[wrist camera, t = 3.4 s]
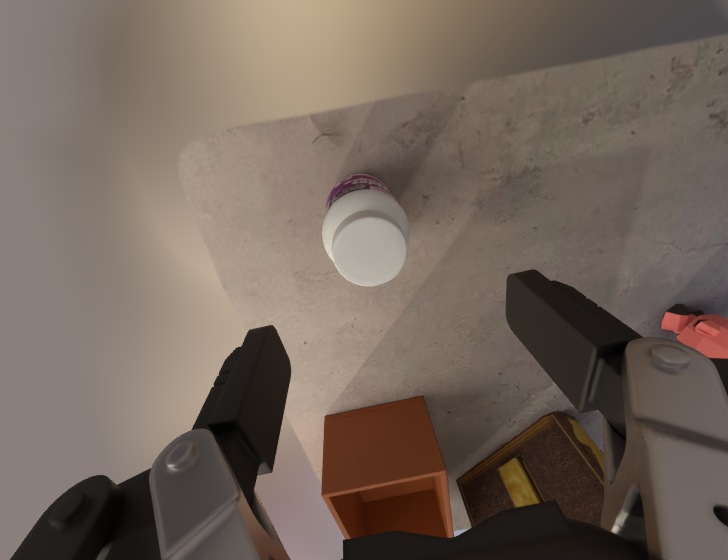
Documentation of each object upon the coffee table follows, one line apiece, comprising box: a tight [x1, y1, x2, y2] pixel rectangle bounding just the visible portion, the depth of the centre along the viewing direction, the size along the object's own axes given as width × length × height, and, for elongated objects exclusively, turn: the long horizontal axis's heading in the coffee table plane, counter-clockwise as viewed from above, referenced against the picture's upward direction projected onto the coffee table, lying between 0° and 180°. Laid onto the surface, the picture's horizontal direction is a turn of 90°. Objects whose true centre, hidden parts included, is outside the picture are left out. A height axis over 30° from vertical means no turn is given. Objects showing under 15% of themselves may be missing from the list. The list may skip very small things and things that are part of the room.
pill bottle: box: [322, 174, 409, 286], centre depth 19 cm, size 5×5×10 cm
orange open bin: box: [321, 396, 454, 539], centre depth 37 cm, size 21×12×9 cm, turn 12°
